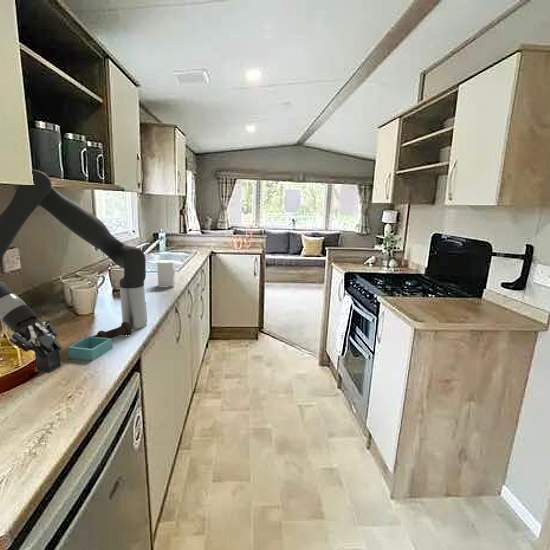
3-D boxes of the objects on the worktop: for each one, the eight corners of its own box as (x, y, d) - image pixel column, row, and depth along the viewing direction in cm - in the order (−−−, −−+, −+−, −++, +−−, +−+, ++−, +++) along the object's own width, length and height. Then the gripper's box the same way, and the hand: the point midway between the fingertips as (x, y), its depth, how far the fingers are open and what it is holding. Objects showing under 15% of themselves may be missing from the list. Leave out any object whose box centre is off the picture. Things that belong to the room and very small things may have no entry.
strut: (48, 362, 116) (44, 331, 114) (60, 364, 115) (56, 332, 113) (36, 368, 112) (32, 336, 110) (49, 370, 111) (45, 338, 109)
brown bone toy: (90, 350, 134) (128, 337, 145) (96, 347, 130) (133, 333, 142) (84, 335, 134) (122, 323, 146) (90, 332, 131) (128, 319, 143)
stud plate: (48, 364, 118) (46, 349, 117) (67, 367, 116) (66, 351, 115) (30, 375, 111) (28, 358, 110) (50, 377, 110) (48, 361, 109)
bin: (90, 349, 130) (89, 336, 129) (113, 352, 128) (111, 338, 127) (69, 361, 120) (67, 347, 119) (93, 364, 118) (92, 350, 117)
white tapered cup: (173, 287, 218) (172, 262, 215) (158, 287, 217) (156, 262, 213) (175, 283, 227) (174, 259, 224) (160, 284, 225) (159, 260, 222)
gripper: (-2, 311, 104) (40, 356, 104) (40, 298, 118) (76, 337, 118) (-15, 327, 106) (26, 371, 106) (28, 312, 120) (64, 351, 120)
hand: (52, 353), depth 112 cm, fingers closed on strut, 4 cm apart
